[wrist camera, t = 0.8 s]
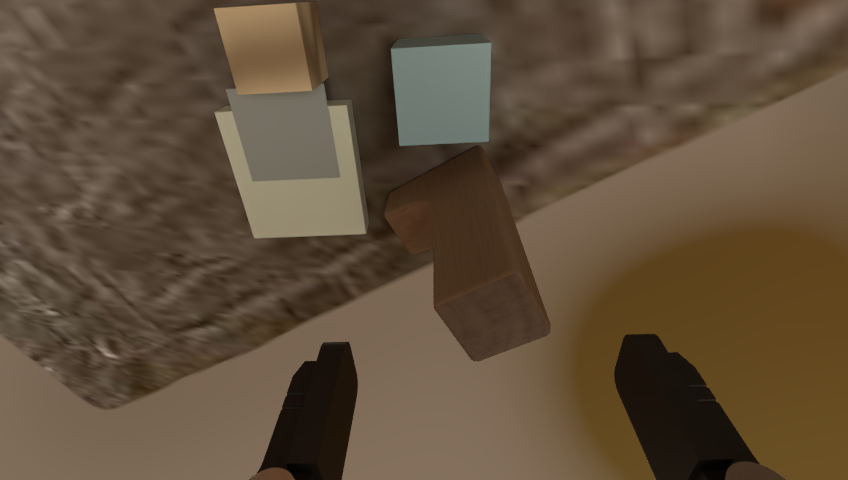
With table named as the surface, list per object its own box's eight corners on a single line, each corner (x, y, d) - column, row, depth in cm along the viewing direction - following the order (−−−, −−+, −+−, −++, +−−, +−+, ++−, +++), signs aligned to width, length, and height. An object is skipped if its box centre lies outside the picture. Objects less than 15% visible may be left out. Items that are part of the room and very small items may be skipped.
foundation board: (219, 84, 32) (206, 90, 30) (348, 77, 31) (343, 82, 29) (262, 227, 38) (253, 238, 36) (369, 222, 38) (365, 234, 36)
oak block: (246, 5, 29) (213, 8, 25) (316, 1, 29) (295, 3, 24) (264, 80, 31) (237, 94, 27) (328, 77, 31) (312, 90, 27)
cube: (398, 38, 30) (390, 48, 25) (481, 33, 29) (491, 42, 24) (404, 121, 33) (399, 146, 28) (479, 117, 33) (488, 141, 27)
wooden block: (413, 231, 38) (399, 394, 23) (387, 192, 36) (352, 342, 21) (502, 186, 35) (555, 336, 20) (479, 142, 33) (518, 270, 18)
